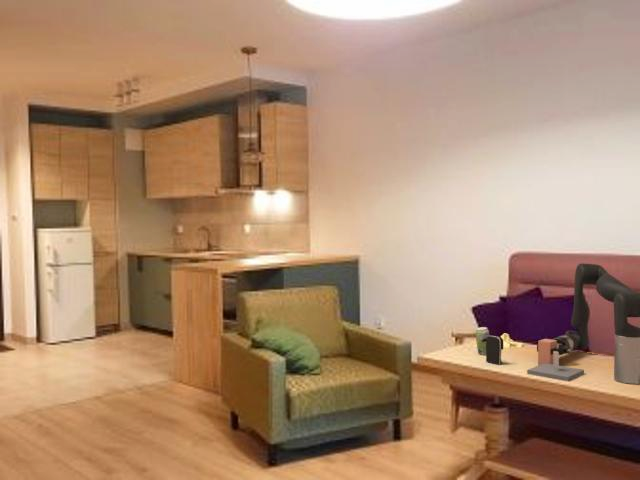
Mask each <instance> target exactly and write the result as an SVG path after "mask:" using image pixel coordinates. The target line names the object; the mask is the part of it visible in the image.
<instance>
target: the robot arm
mask: <svg viewBox="0 0 640 480" xmlns="http://www.w3.org/2000/svg"><path fill="white" fill-rule="evenodd" d="M584 285H588V286H589V285H590V286H595V290H596V292H597V293H598V295H599V296H600V297H602V298H603V299H604V300H606V301H608V302H611V303H613V323H614V324H613V325H614V353H613V354H614V355H613V356H614V357H613V358H614V359H613V360H614V361H613V362H614V363H613V380H614V381H616V382H617V383H618V382H619V383H623V384H633V385H634V384H635V385H639V384H640V327H639V326H636V325H633V324H631V323H630V322H629V321H628V318H640V292H639V291H637V290H635V289H633V288H631V287H629V286H628V285H626V284H625V283H623V282H621V280H619V279H618V278H616V277H615V276H613V275H611V274H610V273H609V272H608V271H607V270H606V269H605V268H604V267H603V266H602V265H600V264H596V263H584V262H583V263H579V264H577V266H576V269H575V274H574V288H573V290H574V291H573V293H574V294H573V311H572V315H571V319H570V326H572V328H574V329H576V330H577V331H575V330H567V331H565V333H564V335H559V336H556V337H553V338H551V340H557V347H556V348H553V349H551V355H553V351H558V353H559V356H562V355H565V354H571V351H573V350H575V349H578V350H586V349H587V348H588V346H589V343H590V336H589V328H588V327H589V320H590V314H591V309H590V306H589V304H588V301H587V299H586V297H585V295H584ZM536 352H538V343H537V344H536Z"/></svg>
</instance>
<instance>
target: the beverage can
mask: <svg viewBox="0 0 640 480" xmlns="http://www.w3.org/2000/svg"><path fill="white" fill-rule="evenodd" d="M474 334H475V341H476V349H477V353H478V354H479V355H480V356H481V355H482V356H483V355H484V356H486V338H487V337H488V336H491V335H490V331H489V329H488V327H486V326H481V327H477V328H476V329H475V331H474Z"/></svg>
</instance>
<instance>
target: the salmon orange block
mask: <svg viewBox="0 0 640 480" xmlns="http://www.w3.org/2000/svg"><path fill="white" fill-rule="evenodd" d="M537 341H538V343H537V344H538V351H537V354H538V355H537V366H539V365H541V364H544V363H547V364H553V355H551V349H553V348H556V347H557V340H552V338H551V339H549V338H544V339H540V340H537Z"/></svg>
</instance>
